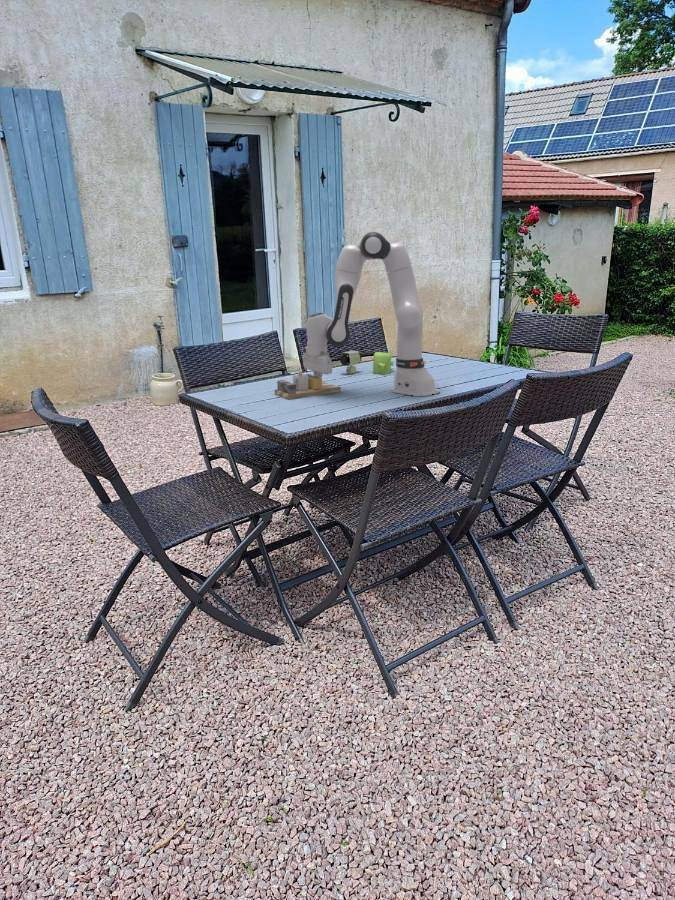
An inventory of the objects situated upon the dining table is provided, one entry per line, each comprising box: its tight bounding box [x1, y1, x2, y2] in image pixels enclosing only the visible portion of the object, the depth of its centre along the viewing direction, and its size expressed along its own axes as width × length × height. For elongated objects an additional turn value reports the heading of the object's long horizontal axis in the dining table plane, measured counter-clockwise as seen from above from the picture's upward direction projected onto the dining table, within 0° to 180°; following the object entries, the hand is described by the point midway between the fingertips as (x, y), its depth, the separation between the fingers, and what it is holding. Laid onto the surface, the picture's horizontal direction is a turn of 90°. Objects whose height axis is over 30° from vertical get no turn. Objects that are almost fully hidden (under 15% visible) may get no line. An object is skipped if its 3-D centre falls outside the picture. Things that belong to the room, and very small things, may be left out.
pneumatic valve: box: [339, 349, 363, 375], centre depth 338 cm, size 6×12×12 cm, turn 136°
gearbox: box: [372, 351, 395, 375], centre depth 339 cm, size 18×10×10 cm, turn 172°
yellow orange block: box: [306, 374, 323, 389], centre depth 299 cm, size 10×4×5 cm, turn 32°
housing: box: [292, 370, 309, 391], centre depth 295 cm, size 5×5×8 cm
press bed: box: [274, 379, 342, 401], centre depth 298 cm, size 14×26×6 cm, turn 121°
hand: (318, 381), depth 300 cm, fingers closed
